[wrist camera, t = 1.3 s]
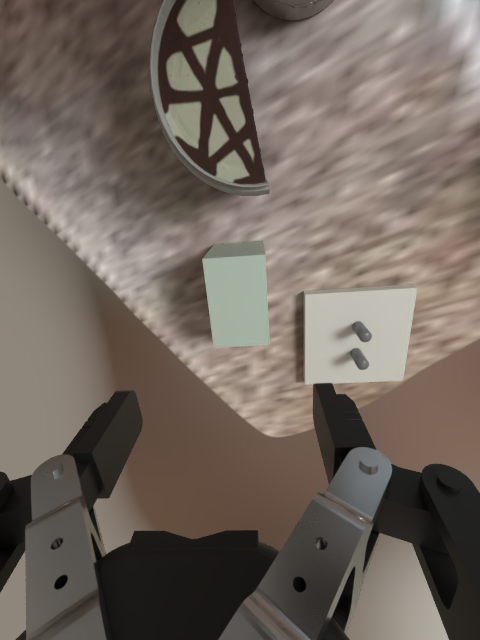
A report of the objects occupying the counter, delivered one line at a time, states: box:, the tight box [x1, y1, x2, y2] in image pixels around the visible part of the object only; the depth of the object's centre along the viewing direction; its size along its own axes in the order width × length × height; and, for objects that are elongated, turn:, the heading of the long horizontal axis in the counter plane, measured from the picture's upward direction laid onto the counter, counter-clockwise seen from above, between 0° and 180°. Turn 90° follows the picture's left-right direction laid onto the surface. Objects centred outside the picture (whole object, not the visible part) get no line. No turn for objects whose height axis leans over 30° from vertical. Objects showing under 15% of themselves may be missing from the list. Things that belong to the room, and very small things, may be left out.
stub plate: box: [303, 284, 417, 384], centre depth 32 cm, size 11×11×4 cm
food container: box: [149, 0, 269, 196], centre depth 22 cm, size 12×6×10 cm, turn 13°
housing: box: [202, 241, 270, 348], centre depth 28 cm, size 8×5×7 cm, turn 5°
